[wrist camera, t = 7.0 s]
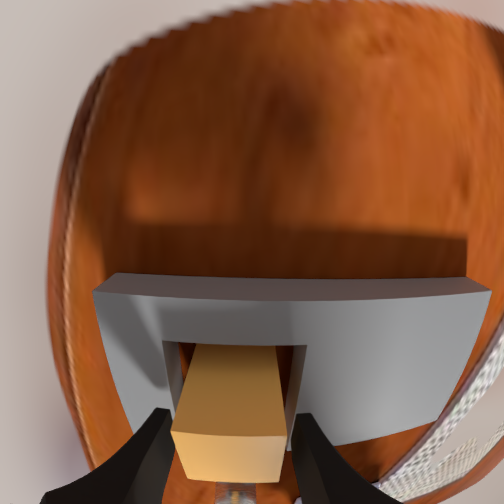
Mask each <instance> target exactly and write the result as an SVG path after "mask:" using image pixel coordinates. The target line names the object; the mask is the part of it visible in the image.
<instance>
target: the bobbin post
mask: <svg viewBox="0 0 504 504" xmlns="http://www.w3.org/2000/svg"><path fill="white" fill-rule="evenodd" d="M214 504H256V483H236V482H217V481H216V488H215V501H214Z"/></svg>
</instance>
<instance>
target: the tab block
mask: <svg viewBox="0 0 504 504" xmlns="http://www.w3.org/2000/svg"><path fill="white" fill-rule="evenodd" d="M170 431H171V434H172V437H173V440H174V443H175V446H176V449H177V452H178V455H179V457H180V460H181V463H182V465H183V468H184V470H185V473H186V475H187V478H188V479H195V480H205V481H217V482H236V483H267V482H279V477H280V473H281V468H282V462H283V457H284V452H285V446H286V441H287V429H286V421H285V414H284V406H283V399H282V392H281V384H280V377H279V370H278V362H277V355H276V348H275V346H263V345H222V344H202V343H197V344H196V347H195V350H194V353H193V357H192V360H191V363H190V366H189V370H188V373H187V376H186V379H185V383H184V386H183V389H182V393H181V396H180V399H179V403H178V406H177V410H176V413H175V416H174V420H173V423H172V427H171V430H170Z"/></svg>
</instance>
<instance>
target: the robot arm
mask: <svg viewBox="0 0 504 504" xmlns="http://www.w3.org/2000/svg"><path fill="white" fill-rule="evenodd" d="M172 423H173V419H172V415H171V411H170V409H165V408H158V407H156V408H155V409H154V410H153V412H152V413H151V414H150V416H149V417H148V418H147V419H146V421H145V422H144V423H143V424H142V426H141V427H140V428H139V429H138V430H137V432H136V433H135V434H134V435H133V436H132V437H131V438H130V439H129V440H128V441H127V443H126V444H124V445H123V446H122V447H121V448H120V449H119V450H118V451H117V452H116V453H115V454H114V455H113V456H112V457H111V458H109V459H108V460H107V461H106V462H104V463H103V464H102V465H100V466H99V467H98V468H96V469H95V470H93V471H92V472H90V473H89V474H87V475H85V476H84V477H82V478H80V479H78V480H76V481H74V482H72V483H70V484H68V485H65V486H63V487H60V488H57V489H54V490H52V491H49V492H46V493H45V495H44V496H43V497H42V499H41V502H40V504H161V503H162V497H163V492H164V489H165V485H166V482H167V478H168V475H169V471H170V468H171V464H172V460H173V457H174V452H175V443H174V440H173V437H172V434H171V431H170V430H171V427H172ZM290 441H291V452H292V461H293V465H294V470H295V474H296V478H297V483H298V487H299V491H300V496H301V497H300V498H297V499H296V501H295V503H294V504H403V503H401V502H399V501H397V500H395V499H394V498H392V497H390V496H388V495H387V494H385V493H384V492H382V491H381V490H379V488H378V487H379V486H380V485H381V484H380V482H377V483H373V484H371V483H369V482H368V481H367V480H366V479H364V478H363V477H362V476H361V475H360V474H359V473H358V472H356V471H355V470H354V469H353V468H352V467H351V466H350V465H349V464H348V463H347V461H346V460H345V459H344V458H343V457H342V456H341V455H340V454H339V452H338V451H337V450H336V449H335V447H334V446H333V445H332V444H331V442H330V441H329V440H328V438H327V437H326V435H325V434H324V432H323V431H322V429H321V428H320V426H319V425H318V423H317V422H316V420H315V418H314V416H313V415H312V414H311V413H298V414H296V417H295V422H294V426H293V431H292V435H291V440H290Z"/></svg>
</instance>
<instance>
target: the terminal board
mask: <svg viewBox="0 0 504 504" xmlns="http://www.w3.org/2000/svg"><path fill="white" fill-rule="evenodd" d="M92 293H93V299H94V304H95V309H96V314H97V319H98V324H99V328H100V332H101V337H102V341H103V345H104V348H105V352H106V356H107V359H108V363H109V366H110V370H111V373H112V376H113V379H114V382H115V385H116V388H117V391H118V394H119V397H120V400H121V403H122V405H123V408H124V411H125V413H126V416H127V418H128V421H129V423H130V426H131V428H132V431H133V433H134V434H135V433H136V432H137V430H138V429H139V428H140V427H141V426H142V424H143V423H144V422H145V421H146V419H147V418H148V417H149V416H150V414H151V413H152V412H153V410H154V409H155V408H156V407H158V408H165V409H170V411H171V415H172V419H173V420H174V416H175V413H176V410H177V406H178V403H179V399H180V396H181V393H182V389H183V386H184V383H183V377H182V369H181V362H180V354H179V346H178V342H188V343H202V344H222V345H263V346H275V345H294V349H293V357H292V364H291V372H290V379H289V385H288V392H287V398H286V405H285V411H284V414H285V421H286V429H287V441H286V450H287V451H291V441H290V440H291V435H292V431H293V426H294V422H295V417H296V414H298V413H311V414H312V415H313V416H314V418H315V420H316V422H317V423H318V425H319V426H320V428H321V429H322V431H323V432H324V434H325V435H326V437H327V438H328V440H329V441H330V442H331V444H332V445H333V446H337V445H344V444H349V443H355V442H360V441H365V440H369V439H374V438H378V437H382V436H386V435H390V434H394V433H398V432H401V431H405V430H408V429H411V428H414V427H418V426H421V425H424V424H426V423H429V422H432V421H435V420H437V418H438V417H439V415H440V413H441V412H442V410H443V408H444V406H445V405H446V403H447V401H448V399H449V398H450V396H451V394H452V392H453V390H454V388H455V386H456V384H457V382H458V380H459V378H460V376H461V374H462V372H463V370H464V368H465V365H466V363H467V361H468V359H469V356H470V354H471V351H472V349H473V347H474V344H475V341H476V339H477V336H478V333H479V331H480V328H481V325H482V322H483V319H484V316H485V313H486V310H487V307H488V303H489V300H490V296H491V293H492V290H490V289H488V288H486V287H485V286H483V285H481V284H479V283H477V282H475V281H474V280H472V279H470V278H468V277H447V278H409V279H269V278H227V277H198V276H173V275H152V274H133V273H115V274H114V275H112V276H111V277H110V278H108V279H107V280H106V281H104V282H103V283H102V284H101V285H99V286H98V287H97V288H95V289H94V290H93V291H92ZM175 447H176V446H175Z"/></svg>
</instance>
